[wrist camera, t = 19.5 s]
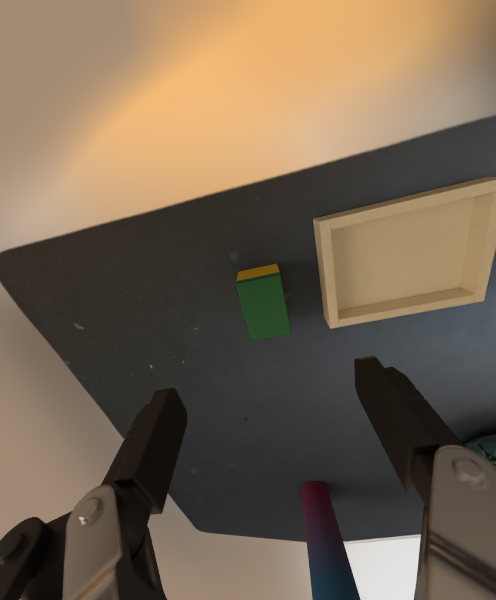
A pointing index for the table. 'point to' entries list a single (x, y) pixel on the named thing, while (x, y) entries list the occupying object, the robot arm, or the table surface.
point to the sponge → (263, 302)
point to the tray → (407, 253)
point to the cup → (326, 547)
